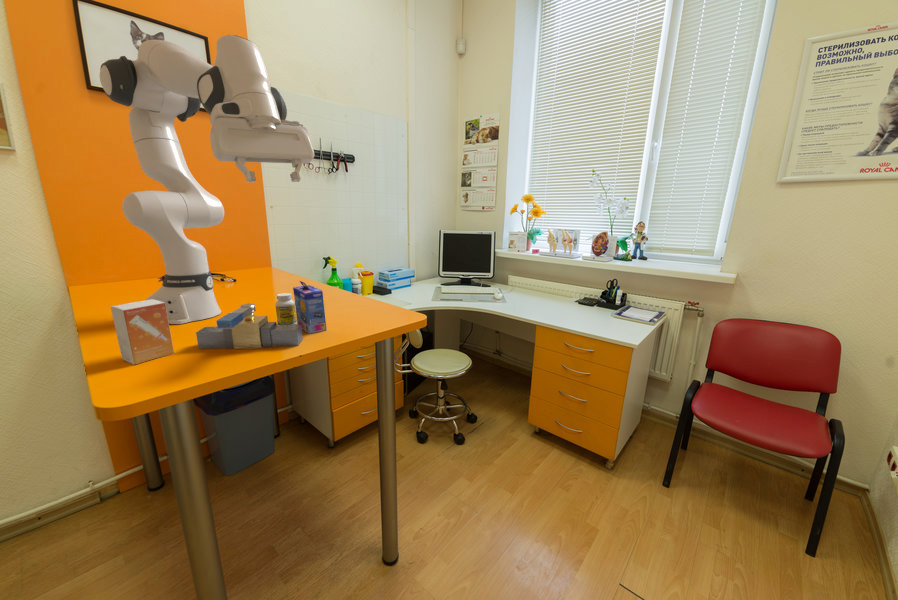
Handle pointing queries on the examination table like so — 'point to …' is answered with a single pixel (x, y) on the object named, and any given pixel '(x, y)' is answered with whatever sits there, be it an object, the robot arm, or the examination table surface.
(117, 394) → the examination table surface
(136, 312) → the small box
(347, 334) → the examination table surface
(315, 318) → the ink cartridge box
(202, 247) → the robot arm
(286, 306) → the supplement bottle
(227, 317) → the lever
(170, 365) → the examination table surface
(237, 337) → the valve pipe
